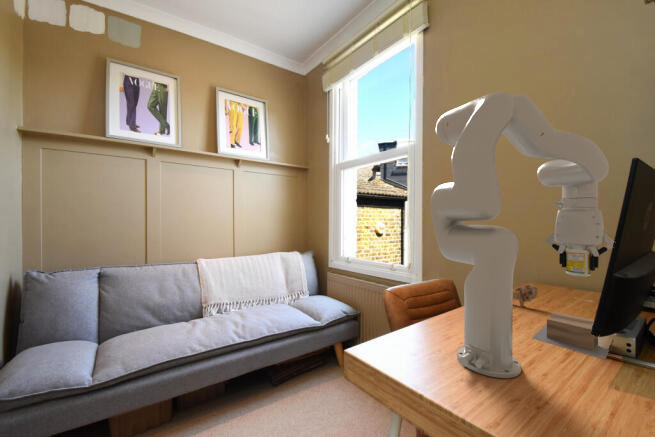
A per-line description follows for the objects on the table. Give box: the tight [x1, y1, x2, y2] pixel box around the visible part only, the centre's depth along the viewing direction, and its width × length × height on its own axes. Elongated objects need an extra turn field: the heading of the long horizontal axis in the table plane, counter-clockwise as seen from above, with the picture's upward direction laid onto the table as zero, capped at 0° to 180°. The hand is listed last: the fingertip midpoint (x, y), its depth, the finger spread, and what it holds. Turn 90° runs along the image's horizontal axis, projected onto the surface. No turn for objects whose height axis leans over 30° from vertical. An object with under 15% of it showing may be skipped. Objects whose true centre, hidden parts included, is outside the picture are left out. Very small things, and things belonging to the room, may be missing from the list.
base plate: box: [531, 323, 610, 360], centre depth 73 cm, size 16×14×1 cm
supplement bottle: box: [565, 244, 592, 278], centre depth 78 cm, size 5×5×10 cm
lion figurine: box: [512, 284, 539, 308], centre depth 102 cm, size 15×5×9 cm, turn 47°
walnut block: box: [546, 311, 598, 350], centre depth 73 cm, size 9×9×5 cm
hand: (578, 267), depth 78 cm, fingers closed on supplement bottle, 5 cm apart
